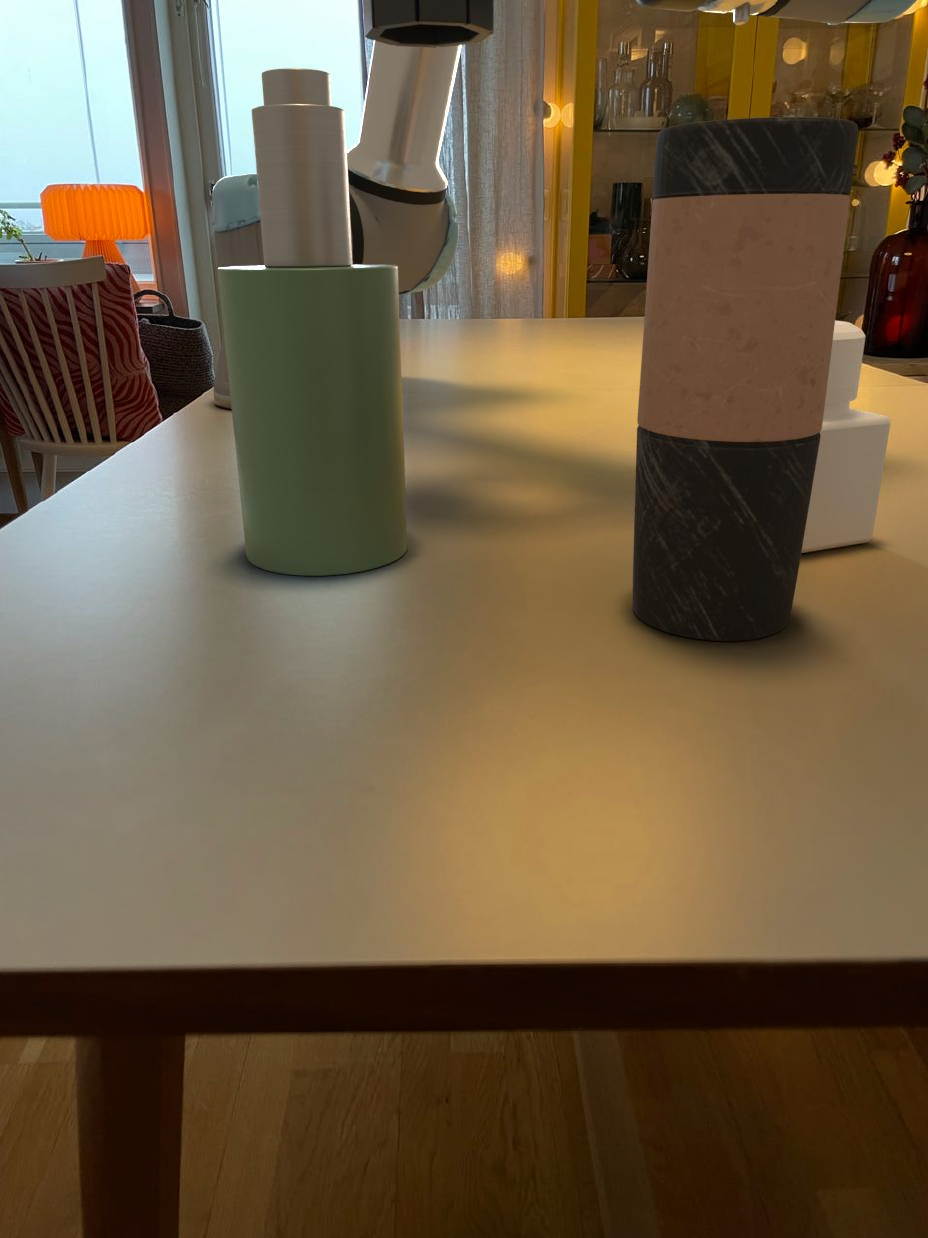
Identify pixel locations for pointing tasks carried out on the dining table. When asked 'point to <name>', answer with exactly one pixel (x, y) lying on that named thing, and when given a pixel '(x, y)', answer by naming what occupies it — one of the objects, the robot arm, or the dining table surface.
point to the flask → (313, 354)
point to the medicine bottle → (846, 454)
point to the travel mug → (735, 367)
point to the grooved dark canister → (428, 22)
